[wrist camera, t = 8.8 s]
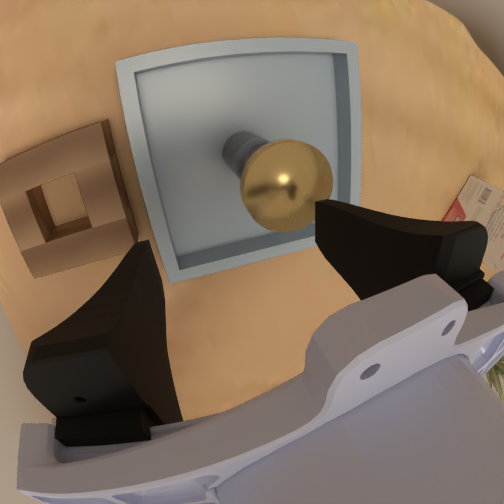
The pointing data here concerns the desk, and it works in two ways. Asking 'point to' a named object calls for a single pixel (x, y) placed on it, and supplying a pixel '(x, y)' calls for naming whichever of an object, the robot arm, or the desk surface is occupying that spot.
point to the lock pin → (278, 179)
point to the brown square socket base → (93, 194)
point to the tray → (225, 125)
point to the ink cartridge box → (483, 216)
